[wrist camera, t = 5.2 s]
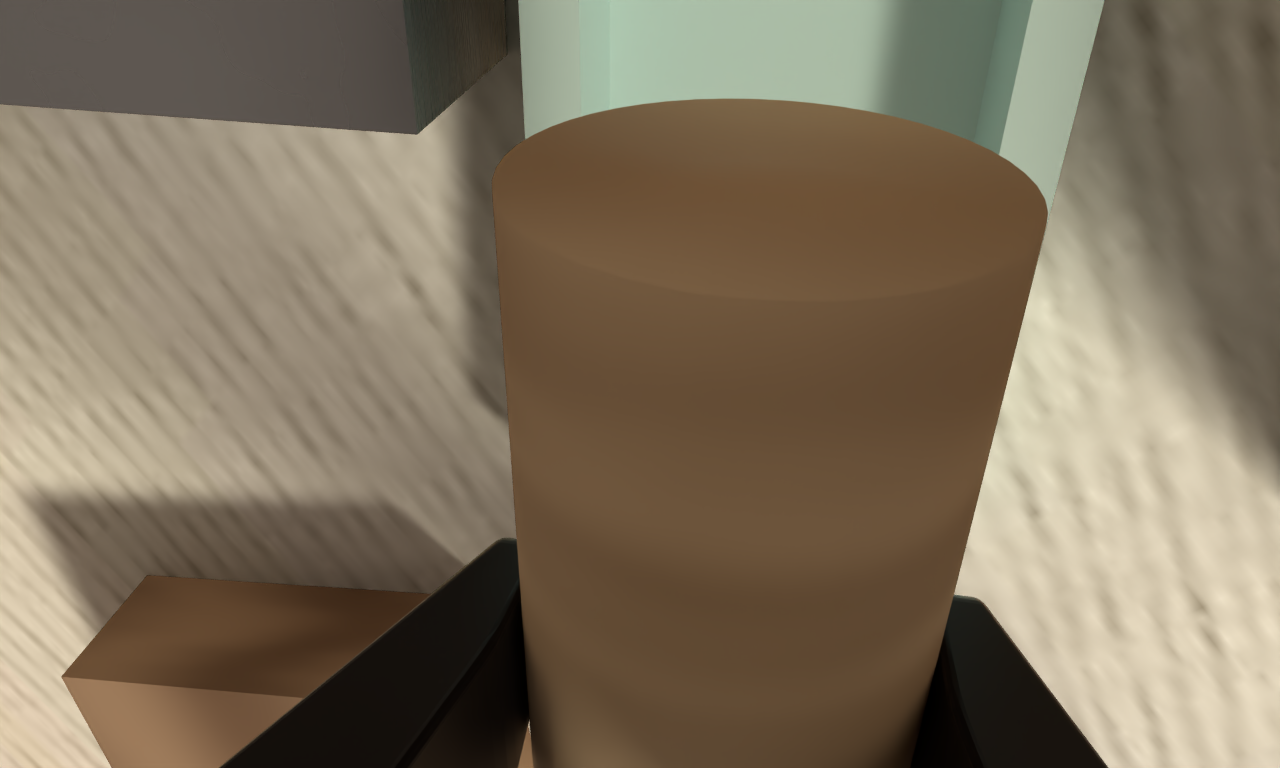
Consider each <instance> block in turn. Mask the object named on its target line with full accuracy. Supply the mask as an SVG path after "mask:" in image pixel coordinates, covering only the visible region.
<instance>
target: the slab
mask: <svg viewBox="0 0 1280 768" xmlns="http://www.w3.org/2000/svg"><path fill="white" fill-rule="evenodd" d="M429 595H431V594H424V593H409V592H394V591H378V590H363V589H348V588H333V587H318V586H302V585H287V584H272V583H257V582H242V581H227V580H211V579H196V578H181V577H166V576H151V575H147V576H146V577H145V579H144V580H143V581H142V582H141V583H140V584H139V586H138V587H137V588H136V589H135V590H134V592H133V593H132V594H131V595H130V596H129V597H128V599H127V600H126V601H125V602H124V603H123V605H122V606H121V607H120V608H119V609H118V610H117V612H116V613H115V614H114V615H113V616H112V618H111V619H110V620H109V621H108V622H107V623H106V625H105V626H104V627H103V628H102V629H101V631H100V632H99V633H98V634H97V635H96V636H95V638H94V639H93V640H92V641H91V642H90V644H89V645H88V646H87V647H86V648H85V649H84V651H83V652H82V653H81V654H80V655H79V656H78V658H77V659H76V660H75V661H74V662H73V664H72V665H71V666H70V667H69V668H68V669H67V671H66V672H65V673H64V674H63V675H62V679H63V681H64V683H65V684H66V686H67V688H68V690H69V692H70V693H71V695H72V697H73V699H74V701H75V702H76V704H77V706H78V708H79V710H80V711H81V713H82V715H83V717H84V719H85V720H86V722H87V724H88V726H89V728H90V729H91V731H92V733H93V735H94V737H95V738H96V740H97V742H98V744H99V746H100V747H101V749H102V751H103V753H104V755H105V756H106V758H107V760H108V762H109V764H110V765H111V767H112V768H219V767H220V766H221V765H222V764H224V763H225V762H226V761H227V760H229V759H230V758H231V757H232V756H233V755H235V754H236V753H237V752H238V751H240V750H241V749H242V748H243V747H244V746H246V745H247V744H248V743H249V742H251V741H252V740H253V739H254V738H255V737H257V736H258V735H259V734H260V733H262V732H263V731H264V730H265V729H266V728H268V727H269V726H270V725H271V724H273V723H274V722H275V721H276V720H278V719H279V718H280V717H281V716H282V715H284V714H285V713H286V712H287V711H289V710H290V709H291V708H292V707H293V706H295V705H296V704H297V703H298V702H300V701H301V700H302V699H303V698H304V697H306V696H307V695H308V694H309V693H311V692H312V691H313V690H314V689H316V688H317V687H318V686H319V685H320V684H322V683H323V682H324V681H325V680H327V679H328V678H329V677H330V676H331V675H333V674H334V673H335V672H336V671H338V670H339V669H340V668H341V667H342V666H344V665H345V664H346V663H347V662H349V661H350V660H351V659H352V658H353V657H355V656H356V655H357V654H358V653H360V652H361V651H362V650H363V649H365V648H366V647H367V646H368V645H369V644H371V643H372V642H373V641H374V640H376V639H377V638H378V637H379V636H380V635H382V634H383V633H384V632H385V631H387V630H388V629H389V628H390V627H391V626H393V625H394V624H395V623H396V622H398V621H399V620H400V619H401V618H402V617H404V616H405V615H406V614H407V613H409V612H410V611H411V610H412V609H414V608H415V607H416V606H417V605H418V604H420V603H421V602H422V601H423V600H425V599H426V598H427V597H428V596H429ZM518 768H533V761H532V747H531V737H530V733H529V728H528V727H527V732H526V736H525V740H524V744H523V749H522V753H521V757H520V761H519V766H518Z"/></svg>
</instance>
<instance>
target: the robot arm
mask: <svg viewBox="0 0 1280 768" xmlns="http://www.w3.org/2000/svg"><path fill="white" fill-rule="evenodd" d="M528 723H529V704H528V690H527V676H526V662H525V648H524V634H523V620H522V606H521V592H520V578H519V563H518V549H517V539H514V538H502V539H500V540H497V541H496V542H494V543H493V544H492V545H491V546H489V547H488V548H487V549H486V550H485V551H483V552H482V553H481V554H480V555H478V556H477V557H476V558H475V559H474V560H472V561H471V562H470V563H469V564H467V565H466V566H465V567H464V568H463V569H461V570H460V571H459V572H458V573H456V574H455V575H454V576H453V577H451V578H450V579H449V580H448V581H447V582H445V583H444V584H443V585H442V586H440V587H439V588H438V589H437V590H436V591H434V592H433V593H432V594H431V595H429V596H428V597H427V598H426V599H425V600H423V601H422V602H421V603H420V604H418V605H417V606H416V607H415V608H414V609H412V610H411V611H410V612H409V613H407V614H406V615H405V616H404V617H402V618H401V619H400V620H399V621H398V622H396V623H395V624H394V625H393V626H391V627H390V628H389V629H388V630H387V631H385V632H384V633H383V634H382V635H380V636H379V637H378V638H377V639H376V640H374V641H373V642H372V643H371V644H369V645H368V646H367V647H366V648H365V649H363V650H362V651H361V652H360V653H358V654H357V655H356V656H355V657H353V658H352V659H351V660H350V661H349V662H347V663H346V664H345V665H344V666H342V667H341V668H340V669H339V670H338V671H336V672H335V673H334V674H333V675H331V676H330V677H329V678H328V679H327V680H325V681H324V682H323V683H322V684H320V685H319V686H318V687H317V688H316V689H314V690H313V691H312V692H311V693H309V694H308V695H307V696H306V697H304V698H303V699H302V700H301V701H300V702H298V703H297V704H296V705H295V706H293V707H292V708H291V709H290V710H289V711H287V712H286V713H285V714H284V715H282V716H281V717H280V718H279V719H278V720H276V721H275V722H274V723H273V724H271V725H270V726H269V727H268V728H266V729H265V730H264V731H263V732H262V733H260V734H259V735H258V736H257V737H255V738H254V739H253V740H252V741H251V742H249V743H248V744H247V745H246V746H244V747H243V748H242V749H241V750H240V751H238V752H237V753H236V754H235V755H233V756H232V757H231V758H230V759H229V760H227V761H226V762H225V763H224V764H222V765H221V766H220V767H219V768H518V766H519V761H520V757H521V753H522V749H523V744H524V740H525V736H526V732H527V727H528ZM910 768H1108V767H1107V765H1106V764H1105V763H1104V761H1103V760H1102V759H1101V757H1100V756H1099V755H1098V753H1097V752H1096V751H1095V749H1094V748H1093V747H1092V745H1091V744H1090V743H1089V741H1088V740H1087V739H1086V737H1085V736H1084V735H1083V734H1082V732H1081V731H1080V730H1079V728H1078V727H1077V726H1076V724H1075V723H1074V722H1073V720H1072V719H1071V718H1070V716H1069V715H1068V714H1067V712H1066V711H1065V710H1064V708H1063V707H1062V706H1061V704H1060V703H1059V702H1058V700H1057V699H1056V698H1055V696H1054V695H1053V694H1052V692H1051V691H1050V690H1049V688H1048V687H1047V686H1046V685H1045V683H1044V682H1043V681H1042V679H1041V678H1040V677H1039V675H1038V674H1037V673H1036V671H1035V670H1034V669H1033V667H1032V666H1031V665H1030V663H1029V662H1028V661H1027V659H1026V658H1025V657H1024V655H1023V654H1022V653H1021V651H1020V650H1019V649H1018V647H1017V646H1016V645H1015V643H1014V642H1013V641H1012V639H1011V638H1010V637H1009V635H1008V634H1007V633H1006V632H1005V630H1004V629H1003V628H1002V626H1001V625H1000V624H999V622H998V621H997V620H996V618H995V617H994V616H993V614H992V613H991V612H990V610H989V609H988V608H987V606H986V605H985V604H984V603H983V602H982V601H980V600H979V599H977V598H974V597H968V596H960V595H954V596H953V600H952V604H951V608H950V612H949V616H948V620H947V624H946V628H945V631H944V635H943V639H942V643H941V647H940V651H939V655H938V659H937V663H936V667H935V671H934V675H933V679H932V683H931V687H930V691H929V695H928V699H927V703H926V707H925V711H924V715H923V719H922V723H921V727H920V731H919V735H918V739H917V743H916V747H915V751H914V755H913V759H912V763H911V767H910Z"/></svg>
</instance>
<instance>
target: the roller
mask: <svg viewBox="0 0 1280 768" xmlns="http://www.w3.org/2000/svg"><path fill="white" fill-rule="evenodd" d="M492 197H493V211H494V225H495V239H496V253H497V267H498V281H499V295H500V310H501V324H502V338H503V352H504V366H505V380H506V394H507V408H508V422H509V436H510V451H511V465H512V479H513V493H514V507H515V521H516V535H517V549H518V563H519V578H520V592H521V606H522V620H523V634H524V648H525V662H526V676H527V690H528V704H529V719H530V733H531V747H532V761H533V768H910V767H911V763H912V759H913V755H914V751H915V747H916V743H917V739H918V735H919V731H920V727H921V723H922V719H923V715H924V711H925V707H926V703H927V699H928V695H929V691H930V687H931V683H932V679H933V675H934V671H935V667H936V663H937V659H938V655H939V651H940V647H941V643H942V639H943V635H944V631H945V628H946V624H947V620H948V616H949V612H950V608H951V604H952V600H953V596H954V592H955V588H956V584H957V580H958V576H959V572H960V568H961V564H962V560H963V556H964V552H965V548H966V544H967V540H968V536H969V532H970V528H971V524H972V520H973V516H974V512H975V508H976V504H977V500H978V496H979V492H980V488H981V484H982V480H983V476H984V472H985V468H986V464H987V460H988V456H989V452H990V448H991V444H992V440H993V436H994V433H995V429H996V425H997V421H998V417H999V413H1000V409H1001V405H1002V401H1003V397H1004V393H1005V389H1006V385H1007V381H1008V377H1009V373H1010V369H1011V365H1012V361H1013V357H1014V353H1015V349H1016V345H1017V341H1018V337H1019V333H1020V329H1021V325H1022V321H1023V317H1024V313H1025V309H1026V305H1027V301H1028V297H1029V293H1030V289H1031V285H1032V281H1033V277H1034V273H1035V269H1036V265H1037V261H1038V257H1039V253H1040V249H1041V245H1042V241H1043V238H1044V234H1045V230H1046V225H1047V218H1048V209H1047V205H1046V201H1045V198H1044V196H1043V195H1042V193H1041V191H1040V190H1039V188H1038V186H1037V185H1036V184H1035V183H1034V182H1033V181H1032V180H1031V179H1030V178H1029V177H1028V176H1027V175H1026V173H1024V172H1023V171H1022V170H1020V169H1019V168H1018V167H1016V166H1015V165H1014V164H1012V163H1011V162H1010V161H1008V160H1007V159H1005V158H1003V157H1001V156H1000V155H998V154H996V153H995V152H993V151H991V150H989V149H987V148H985V147H983V146H981V145H978V144H976V143H974V142H972V141H970V140H967V139H965V138H962V137H960V136H957V135H954V134H952V133H949V132H947V131H943V130H940V129H937V128H934V127H931V126H928V125H924V124H921V123H917V122H914V121H910V120H906V119H902V118H898V117H894V116H889V115H884V114H880V113H875V112H870V111H865V110H859V109H853V108H847V107H841V106H833V105H825V104H817V103H808V102H797V101H785V100H767V99H693V100H678V101H666V102H657V103H648V104H640V105H633V106H627V107H621V108H615V109H611V110H606V111H601V112H597V113H592V114H589V115H585V116H581V117H578V118H574V119H571V120H568V121H565V122H562V123H560V124H557V125H554V126H551V127H549V128H547V129H545V130H543V131H540V132H538V133H536V134H534V135H532V136H530V137H529V138H527V139H526V140H524V141H522V142H521V143H519V144H518V145H516V146H515V147H514V148H513V149H512V150H511V151H509V152H508V153H507V154H506V155H505V156H504V157H503V159H502V160H501V161H500V163H499V164H498V166H497V167H496V169H495V172H494V175H493V178H492Z"/></svg>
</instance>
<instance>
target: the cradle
mask: <svg viewBox="0 0 1280 768" xmlns="http://www.w3.org/2000/svg"><path fill="white" fill-rule="evenodd" d="M1104 1H1105V0H518V5H519V26H520V46H521V67H522V87H523V108H524V129H525V140H526V139H527V138H529V137H530V136H532V135H534V134H536V133H538V132H540V131H543V130H545V129H547V128H549V127H551V126H554V125H557V124H560V123H562V122H565V121H568V120H571V119H574V118H578V117H581V116H585V115H589V114H592V113H597V112H601V111H606V110H611V109H615V108H621V107H627V106H633V105H640V104H648V103H657V102H666V101H678V100H693V99H767V100H785V101H797V102H808V103H817V104H825V105H833V106H841V107H847V108H853V109H859V110H865V111H870V112H875V113H880V114H884V115H889V116H894V117H898V118H902V119H906V120H910V121H914V122H917V123H921V124H924V125H928V126H931V127H934V128H937V129H940V130H943V131H947V132H949V133H952V134H954V135H957V136H960V137H962V138H965V139H967V140H970V141H972V142H974V143H976V144H978V145H981V146H983V147H985V148H987V149H989V150H991V151H993V152H995V153H996V154H998V155H1000V156H1001V157H1003V158H1005V159H1007V160H1008V161H1010V162H1011V163H1012V164H1014V165H1015V166H1016V167H1018V168H1019V169H1020V170H1022V171H1023V172H1024V173H1026V175H1027V176H1028V177H1029V178H1030V179H1031V180H1032V181H1033V182H1034V183H1035V184H1036V185H1037V186H1038V188H1039V190H1040V191H1041V193H1042V195H1043V196H1044V198H1045V201H1046V205H1047V209H1048V218H1047V223H1048V219H1049V215H1050V211H1051V208H1052V204H1053V200H1054V196H1055V192H1056V188H1057V184H1058V180H1059V176H1060V172H1061V169H1062V165H1063V161H1064V157H1065V153H1066V149H1067V145H1068V141H1069V137H1070V133H1071V130H1072V126H1073V122H1074V118H1075V114H1076V110H1077V106H1078V102H1079V98H1080V94H1081V90H1082V87H1083V83H1084V79H1085V75H1086V71H1087V67H1088V63H1089V59H1090V55H1091V51H1092V48H1093V44H1094V40H1095V36H1096V32H1097V28H1098V24H1099V20H1100V16H1101V12H1102V9H1103V5H1104ZM1046 227H1047V225H1046ZM1045 231H1046V230H1045ZM1044 235H1045V234H1044ZM1043 239H1044V238H1043ZM1042 243H1043V241H1042ZM1041 247H1042V245H1041ZM1040 250H1041V249H1040ZM1039 254H1040V253H1039ZM1038 258H1039V257H1038ZM1037 262H1038V261H1037ZM1036 266H1037V265H1036ZM1035 270H1036V269H1035ZM1034 274H1035V273H1034ZM1033 278H1034V277H1033ZM1032 282H1033V281H1032ZM1031 286H1032V285H1031ZM1030 290H1031V289H1030Z"/></svg>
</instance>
